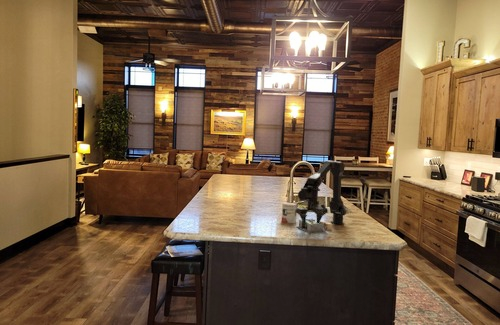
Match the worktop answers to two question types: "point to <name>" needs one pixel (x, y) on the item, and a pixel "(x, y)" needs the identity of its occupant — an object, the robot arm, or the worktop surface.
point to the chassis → (311, 227)
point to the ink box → (289, 212)
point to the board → (310, 222)
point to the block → (327, 225)
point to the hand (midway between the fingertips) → (311, 225)
